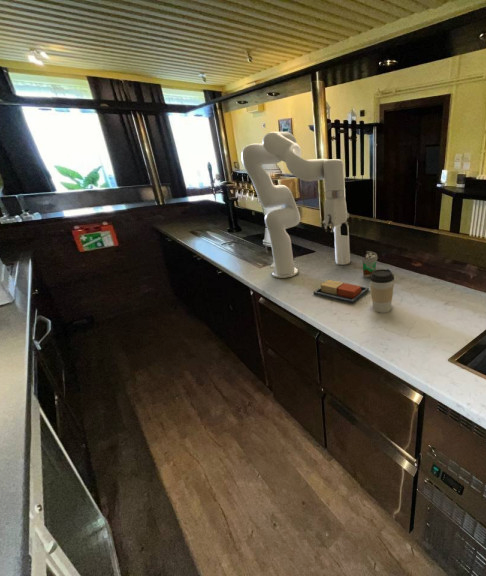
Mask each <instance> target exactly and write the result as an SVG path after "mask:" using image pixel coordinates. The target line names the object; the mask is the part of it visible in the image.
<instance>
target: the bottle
mask: <svg viewBox="0 0 486 576" xmlns="http://www.w3.org/2000/svg"><path fill="white" fill-rule="evenodd" d="M340 226H341V224H339V225H337V226H335V227H334V230H333V232H334V236H335V242H334V255H335V256H334V258H335V259H334V260H335V264H336V265H341V266H344V265H349V264H350V263H351V249H350V248H351V247H350V232H349V230H350V229H349V228H350V227H349V225H348V226H347V227H348V235H347V236H344V235H341V230H340Z"/></svg>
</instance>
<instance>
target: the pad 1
mask: <svg viewBox="0 0 486 576" xmlns="http://www.w3.org/2000/svg"><path fill="white" fill-rule="evenodd" d="M344 283H345V282H342V281H337V280H333V281H332V279H327V280H325V281H324V282H323V283H320V287H321V291H322V292H326V293H330V294H335V295H337V294H338V293H337V288H338V287H340V286H341V285H343V284H344Z"/></svg>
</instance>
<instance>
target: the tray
mask: <svg viewBox="0 0 486 576" xmlns="http://www.w3.org/2000/svg"><path fill="white" fill-rule="evenodd" d="M331 280H332V279H331ZM332 281H334V280H332ZM360 286H361V285H360ZM369 290H370V289H369V287H367V286H363V285H362V286H361V293H360V294H359V295H357V296H356V297H355V298H354V299H352V298H347V297H343V296H339V295H338V294H337V295H335V294H330V293H326V292H322V291H321V286H320V287H319V288H317V289H316V290H314V291H313V295H314V296H319V297H321V298H326V299H331V300H334V301H339V302H342V303H347V304H351V305H353V304H354V303H355V302H357V301H358V300H359V299H360V298H361V297H363V296H364V295H366V293H367V292H370V291H369Z"/></svg>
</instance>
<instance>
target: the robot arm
mask: <svg viewBox="0 0 486 576" xmlns="http://www.w3.org/2000/svg"><path fill="white" fill-rule="evenodd" d="M241 162H242V166H243V168H244V170H245V172H246V174H247V176H248V177H249V179H250V181H251V182H252V185H253V187H254V190H255V193H256V195H257V198H258V200H259V203H260V204H261V206H262V207H263V208H265V209H273V208H278V207H280V208H278V209H274V210H270V211H268V212H267V213H266V214H265V216H264V224H265V228H266V229H267V232H268V237H269V241H270V247H271V254H272V259H273V262H272V263H271V264H270V266H269V267H270V269H273V271H272V277H274V278H276V279H288V278H292V277H294V276H296V275H298V273H299V270H298V268H296V267H295V263H294V262H295V261H294V255H293V247H292V239H291V237H290V235H289V234H288V232H287V230H288V229H290V228H294V227H296V226H298V225H299V224H300V222H301V214H300V211H299V208H298V206H297V203H296V200H295V198H294V195H293V192H292V190H291V189H290V188H289V187H288V186H287V185H285V184H277V185H275V184H274V181H273V179H272V177H271V175H270V174H269V172H268V171H267V170H266V169H265V168H263V167H262V165H274V164H275V165H276V164H278V163H281V162H284V163H285V166H286V168H287V170H288V171H289V173H290V174H291V175H292V176H294V177H296V178H297V179H299V180H301V181H303V182H315V181H322V180H323V182H324V196H325V199H324V204H323V219H324V220H323V221H322V226H323V229H324V230H325V232H326V241H327V242H330V243H335V236H334V227H335V226H337V225H339V224H341V226H340V230H341V235H344V236H347V235H348V227H347V226H349V221H350V219H349V218H350V213H349V212H348V209H347V208H348V207H347V201H346V187H345V186H346V183H345V167H344V165H345V164H344V161H343V160H342V159H340V158H334V159H333V158H332V159H329V158H311V159H305V158H303V157H302V148H301V146H300V145H299V144H298V141H297V139H296V137H295V135H293V134H292V133H290V132H289V131H270V132H267V133H266V134H265V135H264V136H263V137H262V143H250V144H248V145H245V146H244V147H243V148H242V150H241Z"/></svg>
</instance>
